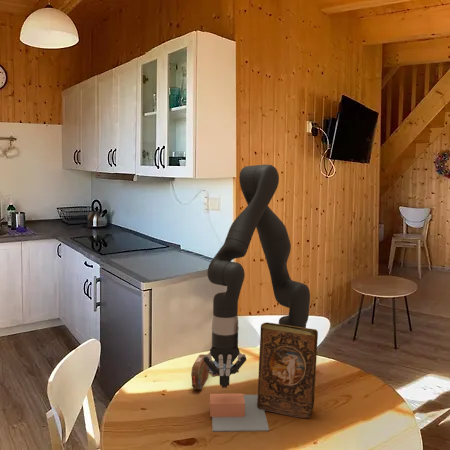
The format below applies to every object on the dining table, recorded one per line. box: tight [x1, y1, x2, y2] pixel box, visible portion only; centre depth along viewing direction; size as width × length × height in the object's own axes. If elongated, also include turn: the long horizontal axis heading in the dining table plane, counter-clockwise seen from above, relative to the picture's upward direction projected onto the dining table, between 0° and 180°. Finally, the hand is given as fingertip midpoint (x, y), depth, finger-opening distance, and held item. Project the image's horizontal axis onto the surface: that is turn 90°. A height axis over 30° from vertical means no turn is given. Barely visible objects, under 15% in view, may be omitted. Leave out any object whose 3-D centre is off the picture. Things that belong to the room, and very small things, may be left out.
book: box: [257, 322, 319, 419], centre depth 142 cm, size 16×6×25 cm, turn 71°
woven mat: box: [209, 359, 240, 377], centre depth 171 cm, size 10×11×2 cm
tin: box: [190, 353, 210, 391], centre depth 160 cm, size 15×3×8 cm, turn 168°
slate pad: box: [211, 394, 270, 432], centre depth 142 cm, size 16×20×1 cm
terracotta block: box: [209, 393, 245, 418], centre depth 142 cm, size 4×6×10 cm
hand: (224, 386), depth 141 cm, fingers closed
